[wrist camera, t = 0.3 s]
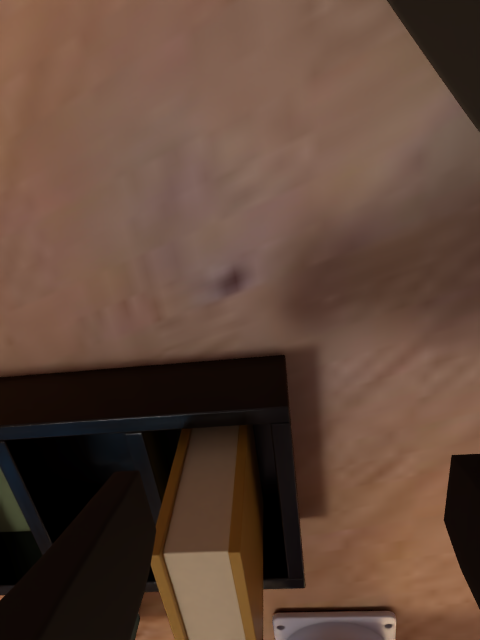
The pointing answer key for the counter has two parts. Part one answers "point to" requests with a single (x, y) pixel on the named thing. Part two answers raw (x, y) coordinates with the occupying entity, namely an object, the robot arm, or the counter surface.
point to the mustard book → (212, 537)
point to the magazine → (448, 44)
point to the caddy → (138, 449)
